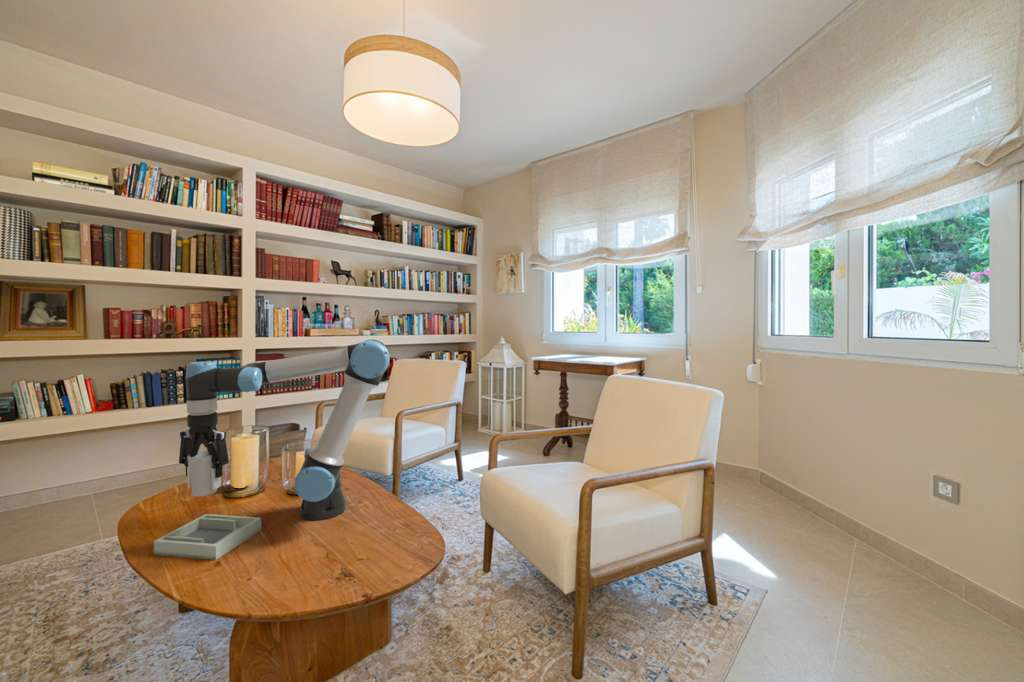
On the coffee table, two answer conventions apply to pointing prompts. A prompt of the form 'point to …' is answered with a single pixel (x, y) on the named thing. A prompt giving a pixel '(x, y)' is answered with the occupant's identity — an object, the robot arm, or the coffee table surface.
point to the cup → (201, 473)
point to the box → (207, 536)
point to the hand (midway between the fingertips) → (204, 486)
